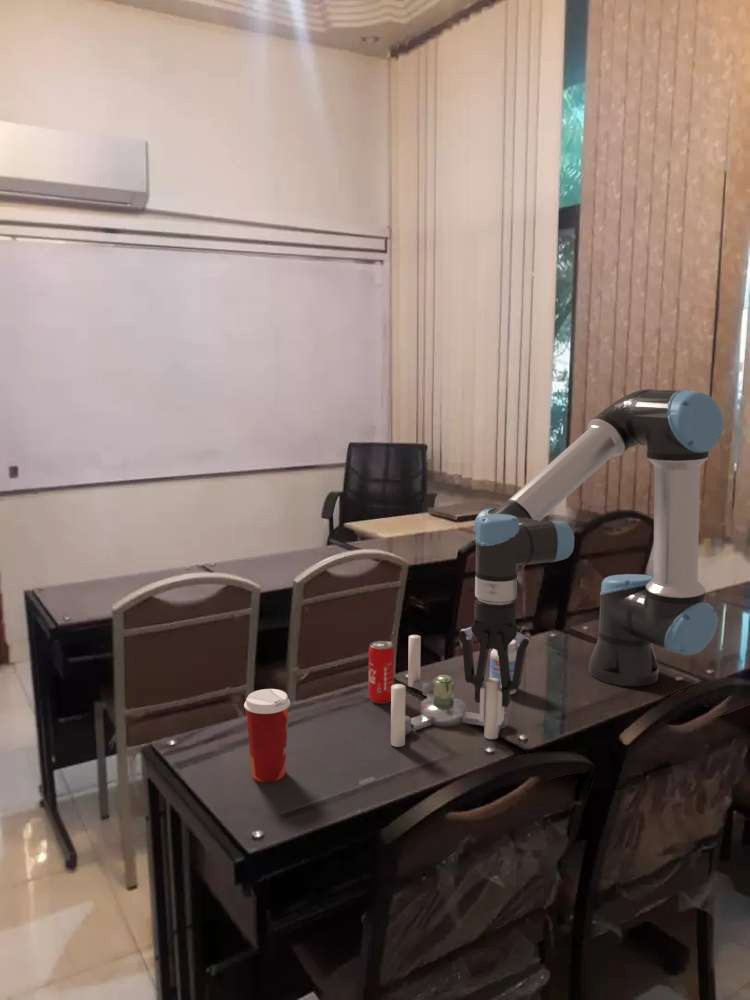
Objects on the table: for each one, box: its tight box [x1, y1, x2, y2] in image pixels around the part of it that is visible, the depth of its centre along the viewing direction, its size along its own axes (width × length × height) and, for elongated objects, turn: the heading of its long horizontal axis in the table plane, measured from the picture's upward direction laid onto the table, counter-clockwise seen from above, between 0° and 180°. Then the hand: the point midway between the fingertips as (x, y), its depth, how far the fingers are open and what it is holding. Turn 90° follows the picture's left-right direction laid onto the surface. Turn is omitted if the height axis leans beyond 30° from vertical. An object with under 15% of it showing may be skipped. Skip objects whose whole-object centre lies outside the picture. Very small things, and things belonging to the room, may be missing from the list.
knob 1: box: [390, 683, 412, 748], centre depth 147 cm, size 9×4×11 cm, turn 171°
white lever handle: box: [407, 634, 434, 697], centre depth 168 cm, size 9×4×11 cm, turn 39°
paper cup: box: [243, 688, 291, 783], centre depth 133 cm, size 8×8×14 cm
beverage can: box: [368, 640, 395, 704], centre depth 164 cm, size 5×5×12 cm
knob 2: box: [483, 677, 508, 740], centre depth 150 cm, size 9×4×11 cm, turn 159°
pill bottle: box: [489, 638, 518, 696], centre depth 169 cm, size 6×6×11 cm
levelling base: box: [410, 674, 485, 732], centre depth 158 cm, size 17×14×8 cm
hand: (491, 720), depth 147 cm, fingers closed on knob 2, 3 cm apart
